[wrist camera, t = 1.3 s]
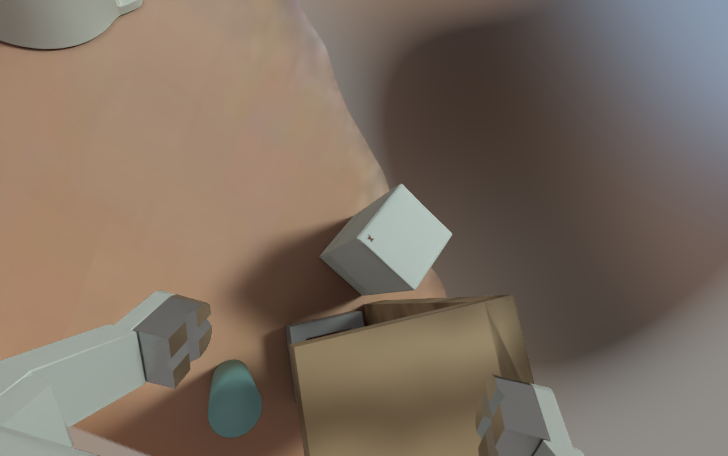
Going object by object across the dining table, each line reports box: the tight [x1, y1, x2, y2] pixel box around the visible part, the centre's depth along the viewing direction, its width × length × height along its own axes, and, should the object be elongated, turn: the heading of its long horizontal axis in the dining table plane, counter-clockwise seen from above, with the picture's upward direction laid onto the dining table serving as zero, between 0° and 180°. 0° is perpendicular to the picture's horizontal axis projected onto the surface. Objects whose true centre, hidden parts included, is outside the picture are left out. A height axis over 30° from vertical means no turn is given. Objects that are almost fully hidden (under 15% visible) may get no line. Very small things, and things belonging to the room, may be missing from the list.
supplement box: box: [319, 184, 452, 296], centre depth 38 cm, size 7×7×13 cm
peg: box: [208, 360, 262, 438], centre depth 30 cm, size 4×4×12 cm
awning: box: [289, 295, 534, 456], centre depth 30 cm, size 9×15×22 cm, turn 100°
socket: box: [285, 311, 364, 403], centre depth 38 cm, size 8×8×3 cm
